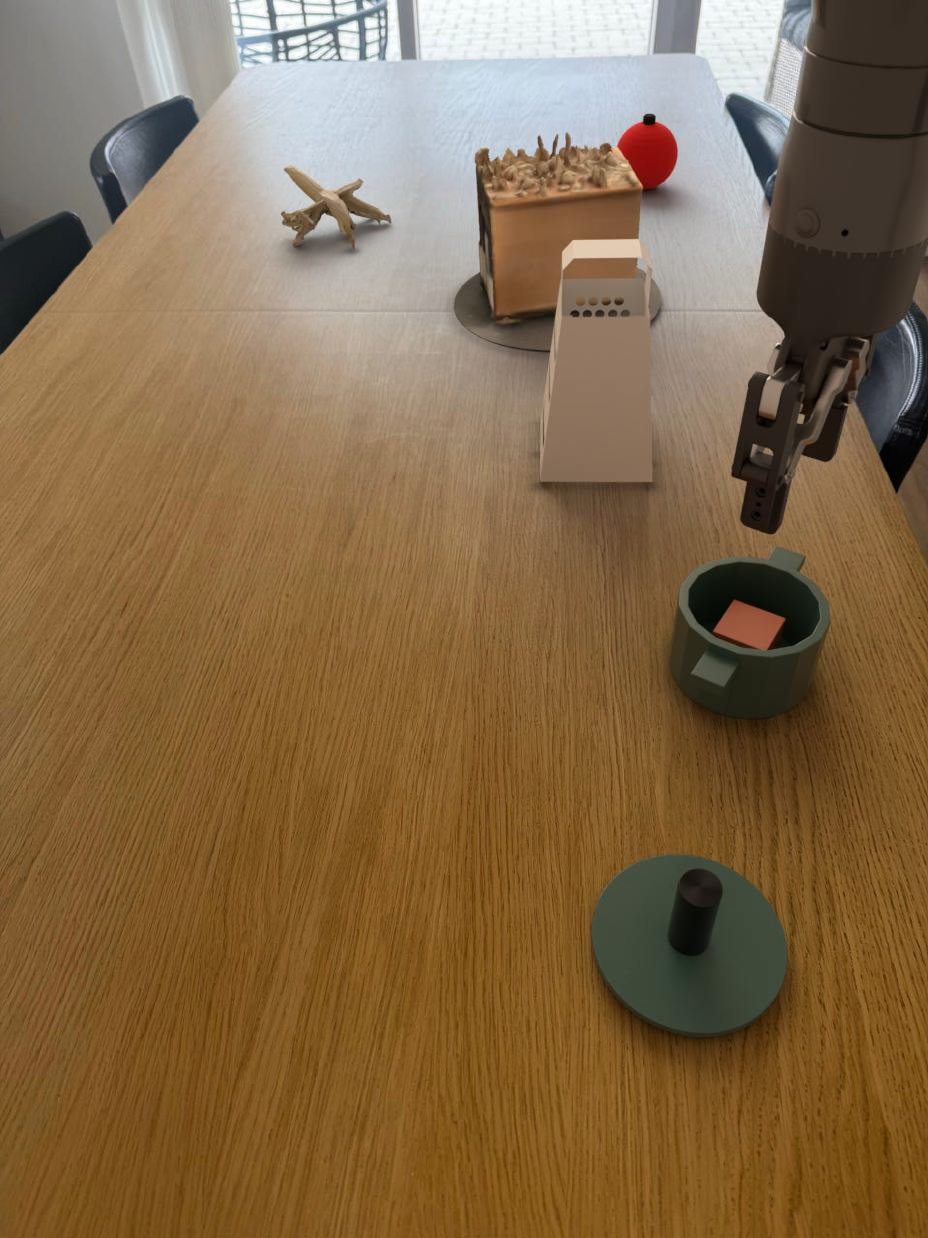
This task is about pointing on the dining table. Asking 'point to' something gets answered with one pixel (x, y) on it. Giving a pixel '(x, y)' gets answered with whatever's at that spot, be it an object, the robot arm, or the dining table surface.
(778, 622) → the block
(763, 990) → the lid
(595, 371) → the grater
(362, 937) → the dining table surface
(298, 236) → the branching beige root
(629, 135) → the ornament
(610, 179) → the planter
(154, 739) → the dining table surface
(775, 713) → the pot
